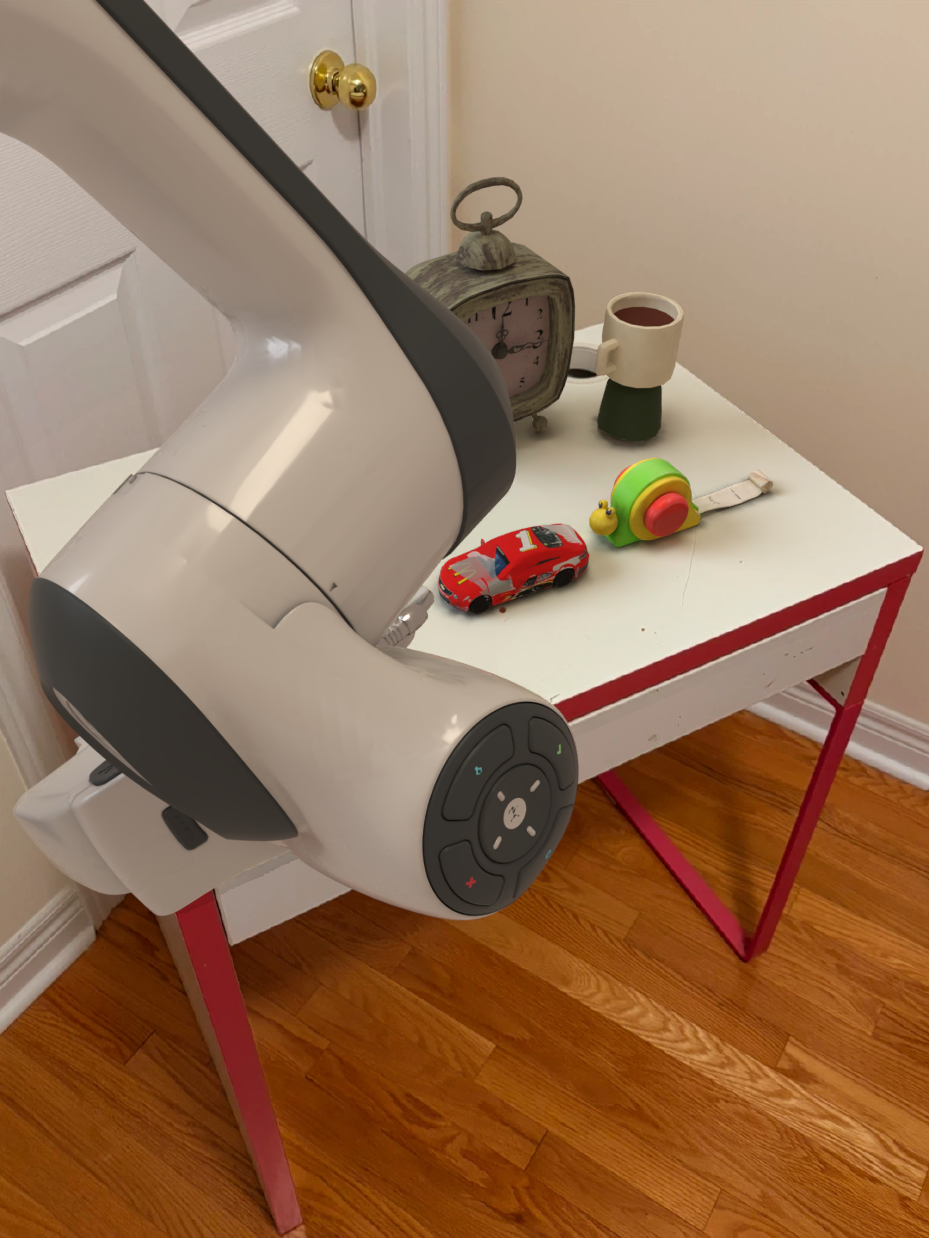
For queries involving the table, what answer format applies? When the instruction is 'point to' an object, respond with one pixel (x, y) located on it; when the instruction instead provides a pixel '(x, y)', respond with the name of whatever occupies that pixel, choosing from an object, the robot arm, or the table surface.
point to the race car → (513, 566)
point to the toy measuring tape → (662, 502)
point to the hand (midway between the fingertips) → (167, 687)
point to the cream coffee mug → (637, 362)
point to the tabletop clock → (508, 305)
